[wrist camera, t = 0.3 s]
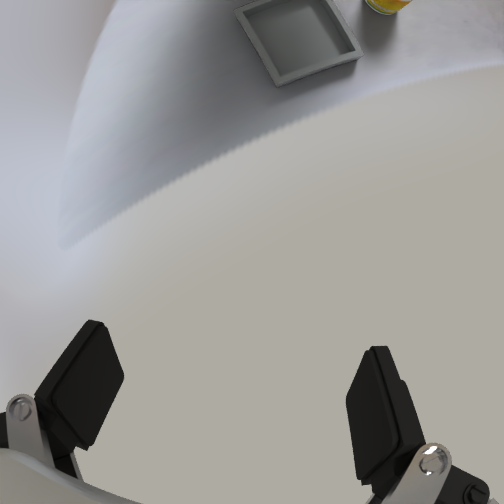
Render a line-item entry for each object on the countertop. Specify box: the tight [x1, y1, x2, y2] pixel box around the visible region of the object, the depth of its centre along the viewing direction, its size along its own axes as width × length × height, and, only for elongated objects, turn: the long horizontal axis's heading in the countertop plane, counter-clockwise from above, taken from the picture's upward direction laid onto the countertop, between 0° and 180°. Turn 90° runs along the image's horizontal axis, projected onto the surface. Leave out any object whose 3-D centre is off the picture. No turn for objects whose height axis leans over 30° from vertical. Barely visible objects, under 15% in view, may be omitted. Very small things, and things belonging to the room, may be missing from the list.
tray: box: [234, 0, 364, 88], centre depth 26 cm, size 12×12×3 cm
